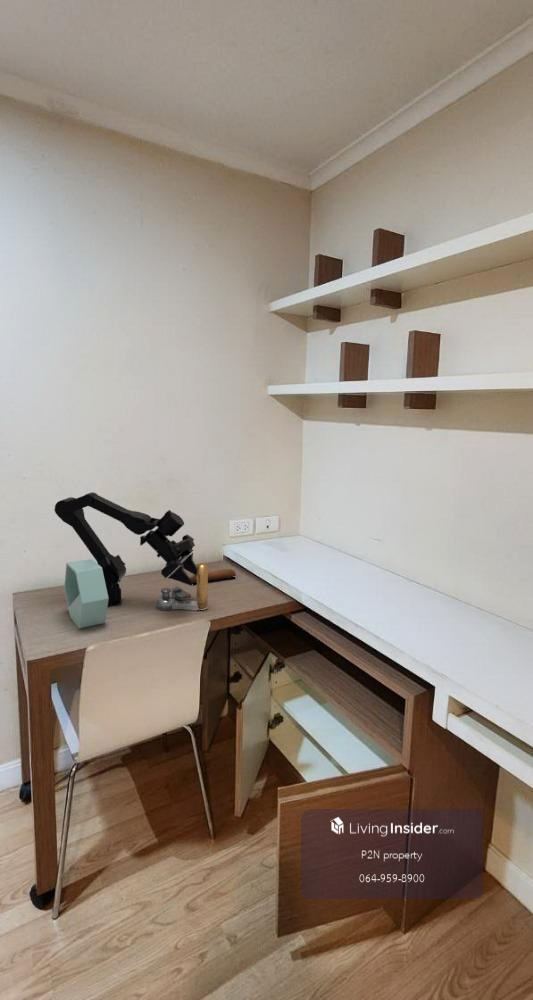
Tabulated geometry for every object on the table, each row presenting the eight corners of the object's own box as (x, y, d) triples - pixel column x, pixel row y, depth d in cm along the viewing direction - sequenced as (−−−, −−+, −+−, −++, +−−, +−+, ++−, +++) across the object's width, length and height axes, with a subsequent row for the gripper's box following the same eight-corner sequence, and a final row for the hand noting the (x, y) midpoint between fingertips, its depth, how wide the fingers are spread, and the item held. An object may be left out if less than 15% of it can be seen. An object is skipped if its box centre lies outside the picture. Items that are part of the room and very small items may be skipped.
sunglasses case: (227, 572, 206) (230, 561, 202) (233, 585, 201) (237, 574, 197) (184, 578, 197) (187, 566, 193) (190, 592, 193) (193, 580, 189)
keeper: (180, 607, 169) (180, 595, 168) (169, 600, 175) (169, 588, 174) (191, 604, 172) (191, 593, 171) (180, 598, 177) (180, 586, 177)
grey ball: (162, 600, 166) (162, 592, 165) (159, 597, 169) (159, 588, 168) (172, 599, 167) (172, 590, 167) (169, 595, 170) (169, 587, 170)
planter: (73, 634, 157) (60, 570, 163) (98, 628, 162) (85, 567, 168) (85, 622, 144) (71, 553, 150) (112, 616, 149) (98, 550, 155)
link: (154, 610, 166) (154, 565, 163) (159, 603, 172) (158, 560, 169) (205, 612, 165) (206, 567, 163) (208, 605, 171) (209, 562, 168)
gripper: (170, 536, 155) (206, 573, 156) (186, 522, 173) (218, 555, 174) (146, 559, 157) (181, 596, 158) (164, 544, 176) (196, 576, 176)
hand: (195, 579), depth 167 cm, fingers open, 9 cm apart
